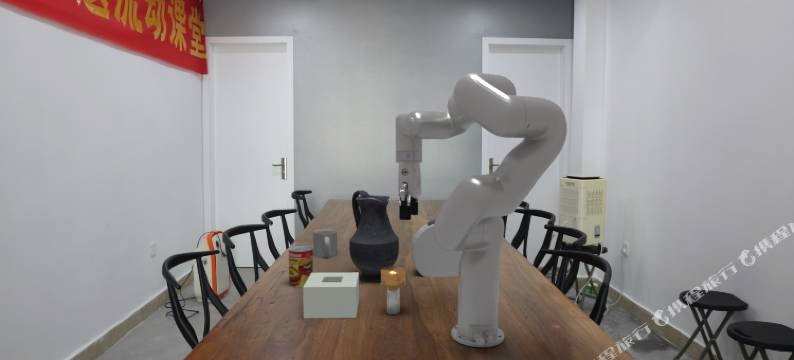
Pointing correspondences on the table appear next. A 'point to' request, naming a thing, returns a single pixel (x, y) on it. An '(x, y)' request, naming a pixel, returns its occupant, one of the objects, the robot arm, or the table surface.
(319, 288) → the hole block
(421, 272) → the alarm clock
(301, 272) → the canned food
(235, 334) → the table surface
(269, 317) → the table surface
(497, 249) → the robot arm
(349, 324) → the table surface
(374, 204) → the pitcher
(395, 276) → the pin
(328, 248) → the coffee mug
